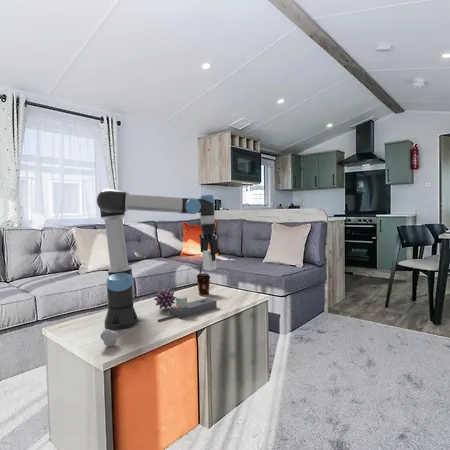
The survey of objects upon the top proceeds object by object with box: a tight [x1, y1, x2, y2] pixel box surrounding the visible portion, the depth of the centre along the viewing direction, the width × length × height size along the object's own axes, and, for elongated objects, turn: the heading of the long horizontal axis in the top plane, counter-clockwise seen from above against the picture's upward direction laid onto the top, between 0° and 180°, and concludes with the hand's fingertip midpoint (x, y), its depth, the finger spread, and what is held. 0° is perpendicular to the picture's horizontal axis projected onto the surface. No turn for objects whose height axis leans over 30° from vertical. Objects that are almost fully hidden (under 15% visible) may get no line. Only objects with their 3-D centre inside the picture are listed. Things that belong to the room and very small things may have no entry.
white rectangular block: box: [202, 249, 217, 273], centre depth 184 cm, size 5×5×11 cm
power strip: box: [157, 297, 218, 323], centre depth 175 cm, size 34×8×5 cm, turn 132°
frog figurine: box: [99, 328, 119, 348], centre depth 136 cm, size 6×7×7 cm
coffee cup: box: [196, 272, 211, 297], centre depth 210 cm, size 9×8×13 cm
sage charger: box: [175, 295, 188, 309], centre depth 172 cm, size 4×4×5 cm
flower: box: [153, 287, 176, 311], centre depth 182 cm, size 12×12×12 cm
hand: (209, 266), depth 184 cm, fingers closed on white rectangular block, 5 cm apart
